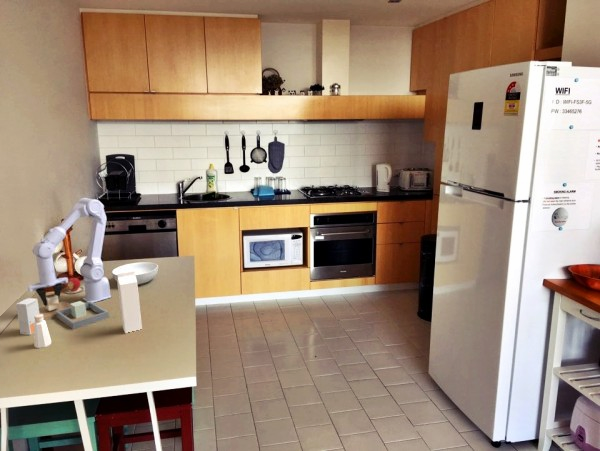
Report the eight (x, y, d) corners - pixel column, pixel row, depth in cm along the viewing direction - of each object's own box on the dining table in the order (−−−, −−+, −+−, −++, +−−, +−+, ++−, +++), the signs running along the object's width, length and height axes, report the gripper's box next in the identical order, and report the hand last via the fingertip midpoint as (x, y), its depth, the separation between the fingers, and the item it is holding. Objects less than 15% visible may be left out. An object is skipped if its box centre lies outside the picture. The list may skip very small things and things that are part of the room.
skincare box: (30, 335, 173) (25, 304, 170) (20, 334, 173) (15, 303, 171) (42, 328, 178) (37, 298, 176) (32, 327, 179) (27, 297, 177)
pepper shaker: (39, 341, 168) (35, 312, 165) (54, 341, 168) (50, 312, 165) (30, 348, 162) (26, 318, 160) (46, 348, 162) (41, 318, 160)
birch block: (55, 305, 195) (53, 293, 194) (59, 307, 192) (57, 295, 191) (45, 307, 192) (43, 296, 191) (49, 310, 189) (47, 298, 188)
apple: (85, 291, 216) (84, 278, 215) (66, 295, 212) (64, 281, 210) (82, 286, 223) (80, 273, 221) (63, 290, 218) (62, 277, 217)
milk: (142, 330, 175) (136, 273, 170) (125, 333, 172) (118, 276, 167) (138, 324, 180) (133, 268, 175) (122, 327, 177) (116, 271, 172)
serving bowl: (141, 272, 242) (140, 259, 240) (168, 279, 230) (167, 266, 228) (104, 284, 225) (102, 270, 224) (131, 292, 213) (129, 278, 212)
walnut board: (64, 303, 202) (64, 300, 202) (76, 310, 194) (75, 308, 194) (29, 313, 192) (28, 310, 192) (39, 321, 184) (38, 318, 184)
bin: (91, 307, 198) (90, 301, 197) (108, 317, 186) (108, 311, 186) (56, 317, 188) (55, 311, 187) (73, 329, 177) (72, 322, 176)
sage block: (81, 312, 192) (80, 300, 191) (86, 315, 189) (85, 303, 188) (71, 315, 190) (70, 303, 189) (76, 318, 187) (74, 306, 185)
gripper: (30, 278, 181) (35, 311, 184) (69, 269, 192) (73, 300, 195) (24, 274, 186) (29, 306, 189) (62, 265, 196) (66, 296, 199)
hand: (51, 303), depth 192 cm, fingers closed on birch block, 4 cm apart
